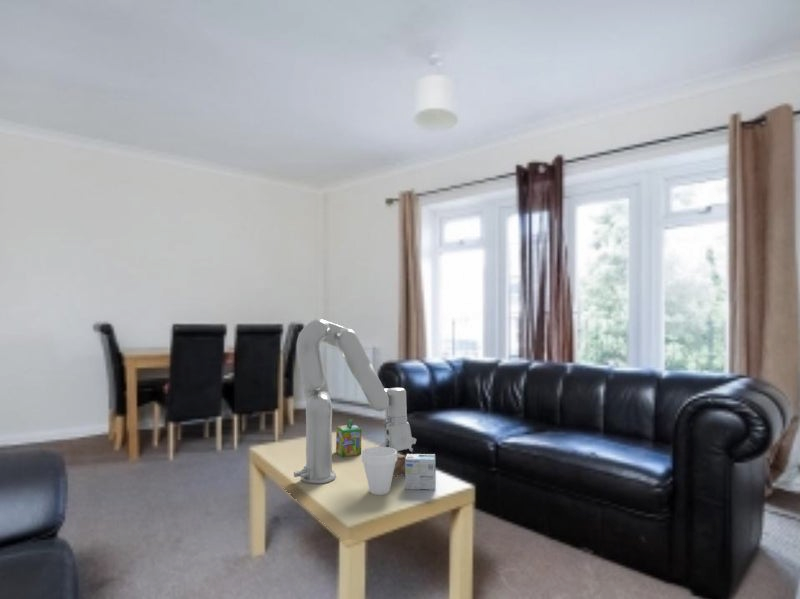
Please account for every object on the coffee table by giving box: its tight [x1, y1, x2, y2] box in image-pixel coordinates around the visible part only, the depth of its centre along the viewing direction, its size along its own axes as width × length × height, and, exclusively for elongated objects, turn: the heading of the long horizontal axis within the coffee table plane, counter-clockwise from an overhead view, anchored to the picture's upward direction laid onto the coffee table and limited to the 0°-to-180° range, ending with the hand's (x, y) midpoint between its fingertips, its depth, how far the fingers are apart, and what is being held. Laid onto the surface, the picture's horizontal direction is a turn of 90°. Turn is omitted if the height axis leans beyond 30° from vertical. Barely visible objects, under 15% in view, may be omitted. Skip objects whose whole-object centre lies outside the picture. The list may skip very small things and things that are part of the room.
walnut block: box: [393, 453, 406, 477], centre depth 181 cm, size 6×6×6 cm
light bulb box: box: [404, 453, 437, 491], centre depth 166 cm, size 11×7×11 cm, turn 84°
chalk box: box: [335, 418, 362, 458], centre depth 207 cm, size 9×9×15 cm
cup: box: [361, 446, 398, 496], centre depth 162 cm, size 12×12×14 cm
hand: (398, 464), depth 181 cm, fingers open, 9 cm apart
